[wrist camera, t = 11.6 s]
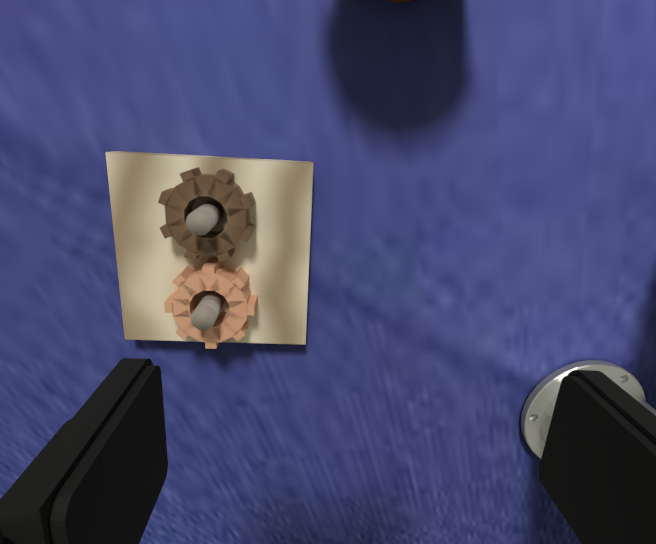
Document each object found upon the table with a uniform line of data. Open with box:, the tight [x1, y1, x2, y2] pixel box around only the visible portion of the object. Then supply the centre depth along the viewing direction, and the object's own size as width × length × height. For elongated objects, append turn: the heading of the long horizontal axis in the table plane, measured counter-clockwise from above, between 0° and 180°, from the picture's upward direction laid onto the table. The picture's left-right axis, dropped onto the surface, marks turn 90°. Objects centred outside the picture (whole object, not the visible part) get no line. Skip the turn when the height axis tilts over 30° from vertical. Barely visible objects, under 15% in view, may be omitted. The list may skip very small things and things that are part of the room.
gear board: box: [106, 151, 313, 345], centre depth 34 cm, size 16×16×6 cm
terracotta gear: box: [164, 258, 258, 349], centre depth 35 cm, size 7×7×2 cm
